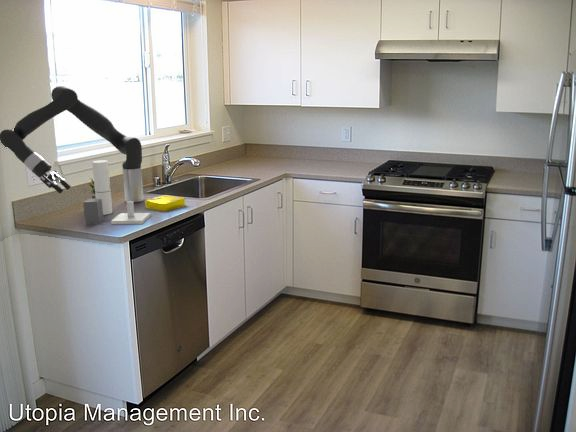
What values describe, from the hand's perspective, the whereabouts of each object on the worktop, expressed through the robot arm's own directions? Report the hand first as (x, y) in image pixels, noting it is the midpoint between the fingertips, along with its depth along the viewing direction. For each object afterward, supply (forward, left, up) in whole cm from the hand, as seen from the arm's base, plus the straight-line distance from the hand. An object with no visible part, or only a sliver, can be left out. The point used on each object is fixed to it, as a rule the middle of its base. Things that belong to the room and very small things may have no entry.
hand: (65, 190), depth 268 cm
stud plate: (-3, +28, -15) cm, 32 cm away
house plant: (-26, +4, -15) cm, 30 cm away
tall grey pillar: (0, +12, -15) cm, 19 cm away
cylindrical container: (-17, +11, -15) cm, 25 cm away
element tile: (-29, +37, -16) cm, 50 cm away
